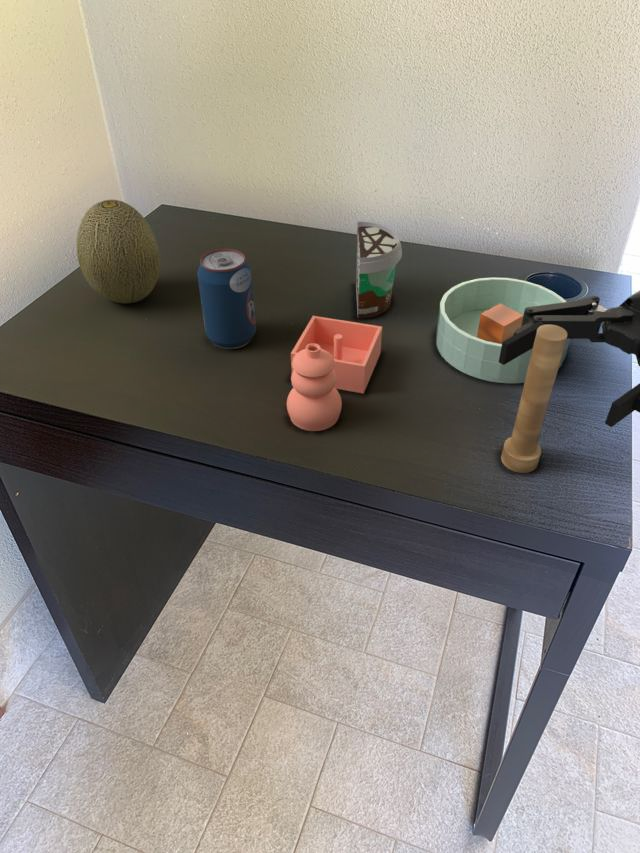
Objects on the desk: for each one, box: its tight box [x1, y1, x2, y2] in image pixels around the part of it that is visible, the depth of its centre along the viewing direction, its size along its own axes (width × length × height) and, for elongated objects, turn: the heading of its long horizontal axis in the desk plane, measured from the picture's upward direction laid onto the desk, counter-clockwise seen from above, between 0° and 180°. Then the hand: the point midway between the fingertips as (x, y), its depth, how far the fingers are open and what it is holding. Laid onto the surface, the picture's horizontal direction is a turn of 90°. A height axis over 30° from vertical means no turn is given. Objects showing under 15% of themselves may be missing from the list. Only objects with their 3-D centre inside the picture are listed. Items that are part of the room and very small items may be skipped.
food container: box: [355, 220, 403, 319], centre depth 98 cm, size 12×6×10 cm, turn 179°
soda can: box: [196, 248, 257, 350], centre depth 91 cm, size 7×7×12 cm
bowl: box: [435, 276, 571, 384], centre depth 91 cm, size 17×17×6 cm
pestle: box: [500, 324, 567, 474], centre depth 70 cm, size 4×4×17 cm
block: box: [477, 304, 523, 344], centre depth 92 cm, size 4×4×4 cm
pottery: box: [286, 315, 383, 432], centre depth 83 cm, size 18×10×10 cm, turn 163°
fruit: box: [76, 199, 161, 304], centre depth 98 cm, size 11×11×15 cm
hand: (554, 382), depth 71 cm, fingers open, 13 cm apart
